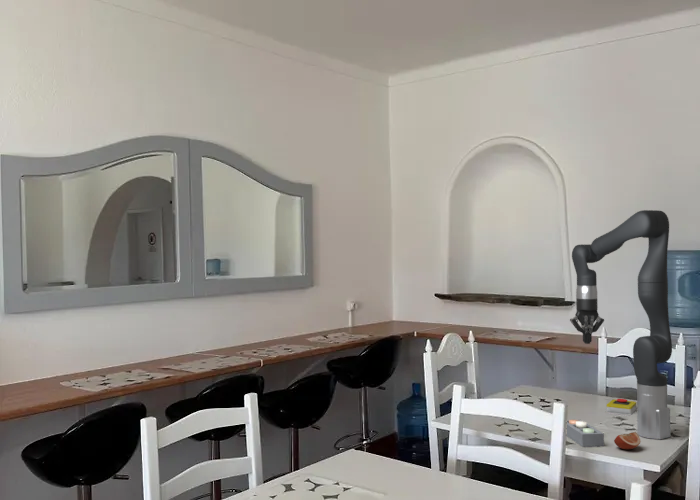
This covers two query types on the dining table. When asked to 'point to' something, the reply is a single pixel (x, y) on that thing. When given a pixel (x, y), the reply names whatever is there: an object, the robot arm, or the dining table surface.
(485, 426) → the dining table surface
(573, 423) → the terracotta button
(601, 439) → the console
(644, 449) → the dining table surface
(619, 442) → the fruit slice
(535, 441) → the dining table surface
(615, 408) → the emergency button
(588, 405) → the dining table surface
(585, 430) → the sage button
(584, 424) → the cream button
